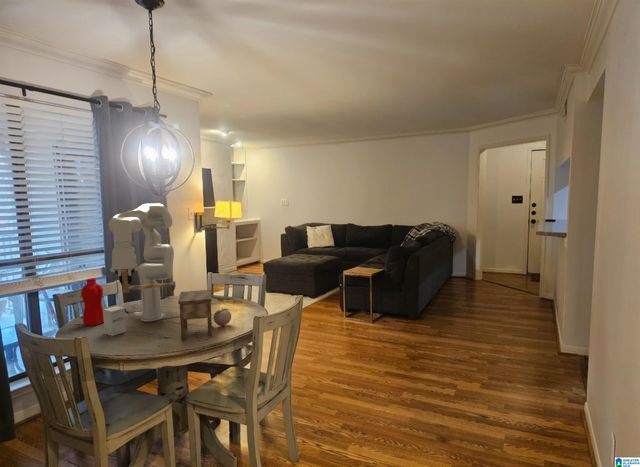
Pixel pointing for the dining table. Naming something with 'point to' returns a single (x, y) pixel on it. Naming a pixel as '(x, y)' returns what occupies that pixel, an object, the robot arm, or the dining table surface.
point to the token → (195, 332)
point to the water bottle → (92, 303)
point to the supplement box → (114, 320)
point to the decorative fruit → (222, 317)
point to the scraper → (127, 288)
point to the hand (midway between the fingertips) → (125, 283)
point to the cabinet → (195, 309)
